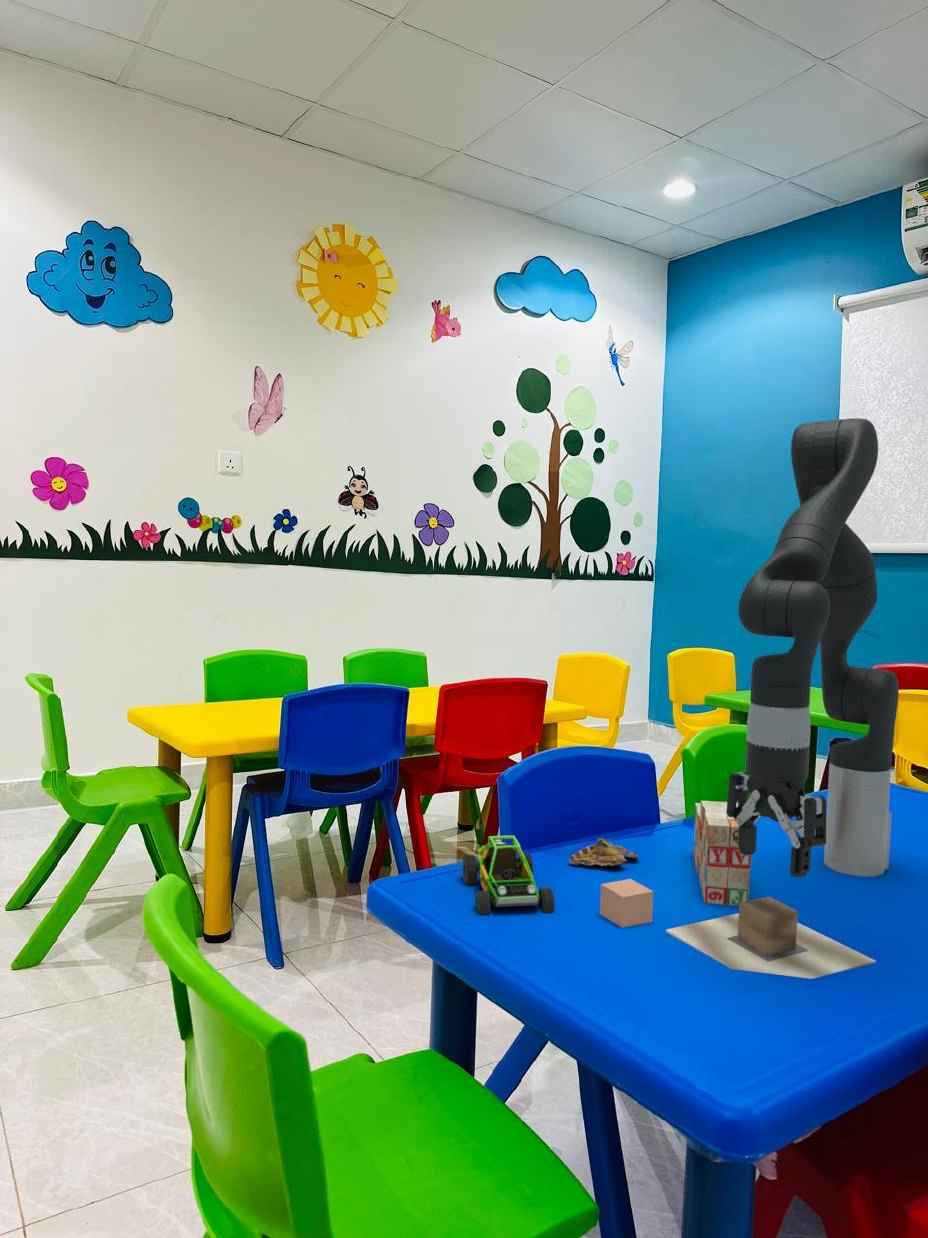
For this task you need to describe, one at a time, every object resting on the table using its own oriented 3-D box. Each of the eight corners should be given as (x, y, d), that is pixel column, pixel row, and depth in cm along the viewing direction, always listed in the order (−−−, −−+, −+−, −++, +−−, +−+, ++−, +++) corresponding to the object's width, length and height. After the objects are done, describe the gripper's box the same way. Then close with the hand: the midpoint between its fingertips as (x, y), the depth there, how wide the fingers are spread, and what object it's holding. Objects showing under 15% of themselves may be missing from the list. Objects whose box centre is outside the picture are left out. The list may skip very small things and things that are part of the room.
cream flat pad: (765, 914, 127) (766, 906, 127) (875, 968, 111) (875, 960, 111) (665, 937, 119) (665, 929, 119) (768, 999, 103) (768, 990, 103)
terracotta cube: (629, 913, 127) (630, 878, 126) (651, 927, 122) (653, 891, 122) (599, 919, 124) (601, 884, 124) (621, 933, 120) (623, 897, 120)
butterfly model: (567, 862, 145) (567, 844, 145) (601, 843, 155) (601, 826, 155) (616, 874, 140) (616, 854, 140) (647, 854, 150) (648, 836, 150)
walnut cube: (767, 933, 118) (769, 896, 118) (795, 949, 113) (797, 911, 113) (737, 939, 116) (739, 902, 116) (765, 956, 111) (767, 917, 111)
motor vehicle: (479, 924, 123) (481, 855, 122) (459, 876, 140) (460, 815, 139) (554, 920, 124) (556, 852, 124) (524, 873, 142) (526, 813, 141)
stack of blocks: (692, 856, 151) (695, 784, 150) (730, 859, 150) (734, 787, 149) (704, 906, 130) (708, 823, 129) (749, 910, 129) (753, 826, 128)
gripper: (845, 748, 108) (839, 879, 110) (757, 725, 121) (752, 843, 122) (801, 754, 105) (794, 889, 106) (715, 730, 117) (710, 851, 119)
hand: (772, 864), depth 114 cm, fingers open, 8 cm apart
